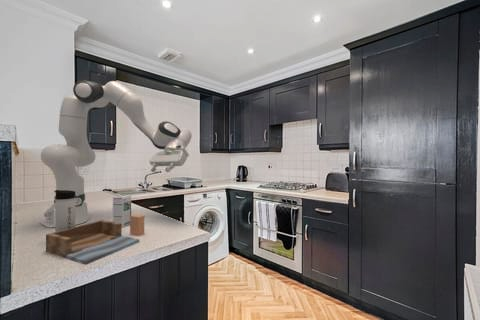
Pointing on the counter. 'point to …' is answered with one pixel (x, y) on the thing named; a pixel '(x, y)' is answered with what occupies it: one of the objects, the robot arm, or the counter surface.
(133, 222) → the terracotta block
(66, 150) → the robot arm
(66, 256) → the crate
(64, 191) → the travel mug
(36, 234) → the counter surface
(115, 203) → the syrup box
